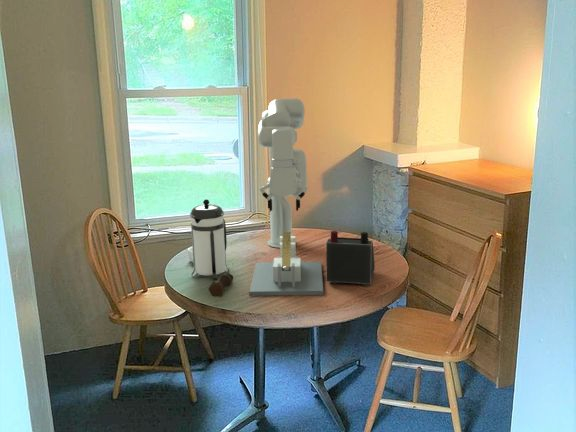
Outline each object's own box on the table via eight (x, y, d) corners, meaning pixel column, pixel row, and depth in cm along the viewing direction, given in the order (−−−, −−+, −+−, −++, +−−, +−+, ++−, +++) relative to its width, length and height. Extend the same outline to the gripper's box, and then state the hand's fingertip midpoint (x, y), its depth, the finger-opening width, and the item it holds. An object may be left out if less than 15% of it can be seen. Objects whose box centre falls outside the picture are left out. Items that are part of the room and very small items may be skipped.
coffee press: (236, 278, 223) (232, 201, 216) (194, 283, 219) (188, 205, 211) (227, 264, 239) (223, 192, 232) (188, 268, 235) (183, 195, 227)
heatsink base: (256, 265, 236) (255, 243, 234) (320, 265, 236) (320, 242, 233) (249, 295, 206) (248, 270, 204) (323, 294, 206) (323, 269, 203)
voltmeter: (374, 272, 227) (375, 222, 222) (370, 287, 211) (371, 234, 206) (333, 269, 230) (333, 220, 225) (326, 284, 215) (326, 232, 210)
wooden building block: (283, 258, 222) (282, 231, 220) (291, 258, 222) (290, 231, 220) (281, 271, 208) (280, 243, 206) (290, 271, 208) (290, 243, 205)
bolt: (231, 286, 221) (218, 300, 207) (220, 279, 221) (206, 293, 207) (238, 274, 219) (225, 287, 205) (227, 267, 219) (213, 279, 205)
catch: (280, 263, 234) (280, 236, 231) (295, 263, 234) (295, 235, 231) (280, 268, 227) (279, 240, 225) (295, 268, 227) (295, 240, 224)
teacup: (205, 264, 240) (204, 251, 239) (186, 264, 240) (186, 251, 239) (209, 256, 250) (208, 244, 248) (191, 256, 250) (190, 244, 249)
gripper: (307, 161, 213) (307, 207, 217) (259, 162, 214) (261, 208, 218) (306, 165, 206) (307, 212, 210) (257, 165, 207) (259, 212, 211)
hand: (284, 210), depth 214 cm, fingers open, 9 cm apart
